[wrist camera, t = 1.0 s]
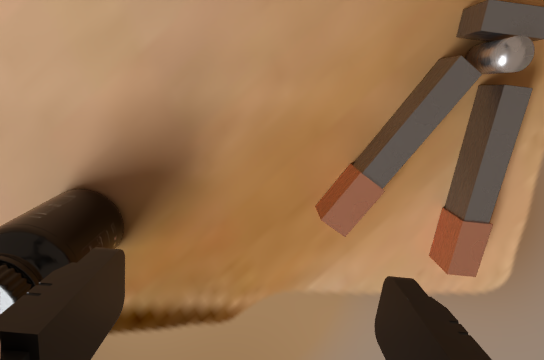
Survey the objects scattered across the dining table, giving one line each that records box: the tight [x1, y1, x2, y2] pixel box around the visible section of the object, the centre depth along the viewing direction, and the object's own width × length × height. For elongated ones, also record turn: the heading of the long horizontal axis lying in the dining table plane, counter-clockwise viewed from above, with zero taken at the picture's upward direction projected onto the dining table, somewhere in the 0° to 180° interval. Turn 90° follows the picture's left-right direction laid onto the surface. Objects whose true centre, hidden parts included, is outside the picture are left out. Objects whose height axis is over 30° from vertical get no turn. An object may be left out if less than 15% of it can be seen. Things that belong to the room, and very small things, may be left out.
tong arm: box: [315, 55, 482, 237], centre depth 26 cm, size 16×3×3 cm, turn 143°
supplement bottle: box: [0, 189, 124, 314], centre depth 24 cm, size 7×7×12 cm
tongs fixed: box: [429, 0, 544, 277], centre depth 26 cm, size 21×5×4 cm, turn 173°
